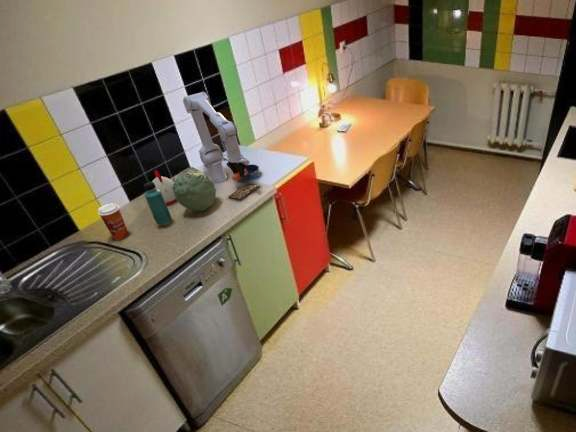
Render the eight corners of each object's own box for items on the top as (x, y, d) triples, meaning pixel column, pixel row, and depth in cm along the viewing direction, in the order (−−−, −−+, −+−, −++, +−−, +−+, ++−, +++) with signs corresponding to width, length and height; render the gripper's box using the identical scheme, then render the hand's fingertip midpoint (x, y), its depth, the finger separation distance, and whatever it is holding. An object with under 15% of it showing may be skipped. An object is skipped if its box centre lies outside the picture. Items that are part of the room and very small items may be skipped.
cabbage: (227, 198, 198) (215, 160, 187) (207, 220, 182) (193, 180, 171) (196, 197, 200) (183, 159, 189) (174, 219, 185) (158, 179, 174)
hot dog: (236, 182, 194) (234, 176, 192) (231, 181, 195) (229, 175, 193) (249, 173, 200) (247, 168, 199) (244, 172, 201) (242, 167, 200)
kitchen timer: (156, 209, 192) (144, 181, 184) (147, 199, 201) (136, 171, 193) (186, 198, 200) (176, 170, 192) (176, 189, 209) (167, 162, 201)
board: (240, 200, 195) (239, 198, 195) (228, 198, 198) (228, 196, 197) (259, 187, 206) (259, 185, 205) (248, 185, 208) (247, 182, 208)
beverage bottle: (176, 221, 183) (161, 180, 172) (165, 229, 178) (148, 188, 167) (165, 219, 185) (148, 178, 174) (153, 227, 180) (136, 186, 169)
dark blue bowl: (237, 184, 210) (235, 176, 208) (236, 174, 220) (234, 167, 217) (261, 179, 213) (260, 171, 211) (259, 169, 223) (257, 162, 220)
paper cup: (117, 243, 171) (103, 214, 164) (107, 238, 175) (92, 209, 167) (135, 233, 177) (122, 205, 169) (125, 228, 180) (112, 200, 173)
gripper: (251, 147, 190) (257, 174, 197) (226, 144, 195) (234, 170, 203) (240, 154, 185) (247, 181, 192) (215, 149, 190) (223, 176, 197)
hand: (240, 176), depth 197 cm, fingers closed on hot dog, 3 cm apart
